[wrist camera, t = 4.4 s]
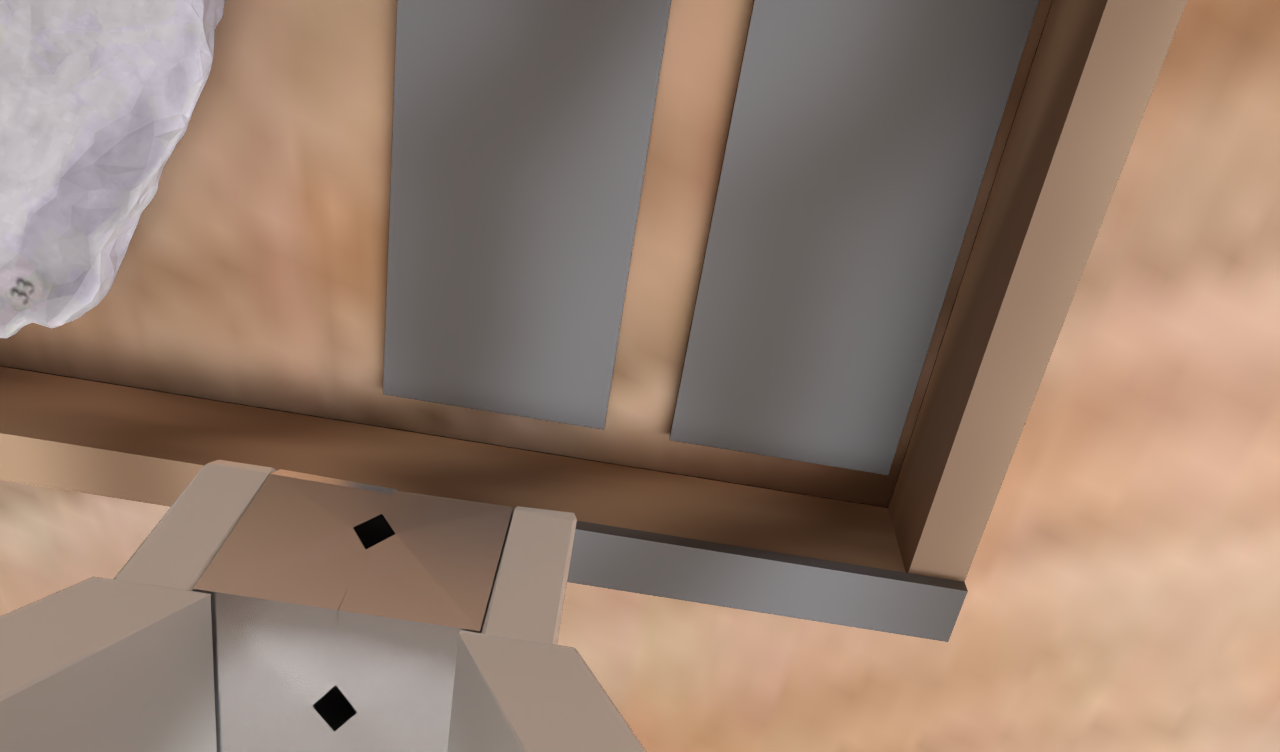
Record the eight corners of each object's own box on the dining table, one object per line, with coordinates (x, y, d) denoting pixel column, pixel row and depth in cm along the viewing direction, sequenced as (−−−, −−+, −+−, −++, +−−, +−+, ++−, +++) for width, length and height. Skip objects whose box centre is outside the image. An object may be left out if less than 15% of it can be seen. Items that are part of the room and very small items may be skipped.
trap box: (1235, -319, 16) (1384, -366, 12) (923, 560, 24) (960, 683, 21) (-957, -706, 15) (-1452, -871, 12) (-516, 332, 24) (-731, 418, 20)
